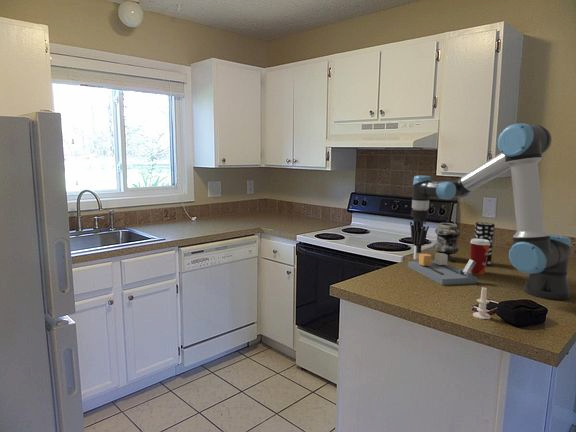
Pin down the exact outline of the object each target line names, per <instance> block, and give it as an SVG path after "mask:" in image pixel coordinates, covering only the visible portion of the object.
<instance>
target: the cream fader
mask: <svg viewBox="0 0 576 432" xmlns="http://www.w3.org/2000/svg"><path fill="white" fill-rule="evenodd" d="M447 260H448V255H447V254H444V253H439V252H437V253H436V252H435V253H434V263H436V264H438V265H447V264H448V261H447Z"/></svg>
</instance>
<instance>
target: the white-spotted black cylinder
mask: <svg viewBox="0 0 576 432" xmlns="http://www.w3.org/2000/svg"><path fill="white" fill-rule="evenodd" d="M495 225H496V224H495V223H493V222H491V223H490V222H484V221H480V222H475V224H474V226H475V227H474V236H473V237H474V238H473V239H485V240H489V243H490V245H489V250H488V257H487V263H486V267H491V265H492V258H493V257H492V256H493V246H494V235H495Z"/></svg>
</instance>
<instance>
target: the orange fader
mask: <svg viewBox="0 0 576 432" xmlns="http://www.w3.org/2000/svg"><path fill="white" fill-rule="evenodd" d="M432 258H433V256H432V255H431V254H429V253H421V254H419V259H418V261H419V264H421V265H423V266H430V265H431V262H432V261H433V259H432Z"/></svg>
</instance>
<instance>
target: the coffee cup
mask: <svg viewBox="0 0 576 432" xmlns="http://www.w3.org/2000/svg"><path fill="white" fill-rule="evenodd" d="M469 243H470V257H469V260H470V259H471V260H473V261H475V262H476V264H475V265H474V267H473V269H472V270H471V273H472V274H474V275H485V273H486V269H487V266H486V263H487V257H488V250H489V245H490V243H489V240H485V239H474V238H471V240H470V242H469Z"/></svg>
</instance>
